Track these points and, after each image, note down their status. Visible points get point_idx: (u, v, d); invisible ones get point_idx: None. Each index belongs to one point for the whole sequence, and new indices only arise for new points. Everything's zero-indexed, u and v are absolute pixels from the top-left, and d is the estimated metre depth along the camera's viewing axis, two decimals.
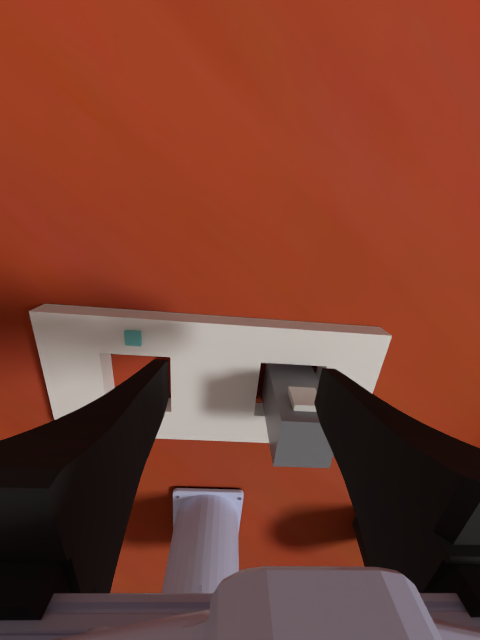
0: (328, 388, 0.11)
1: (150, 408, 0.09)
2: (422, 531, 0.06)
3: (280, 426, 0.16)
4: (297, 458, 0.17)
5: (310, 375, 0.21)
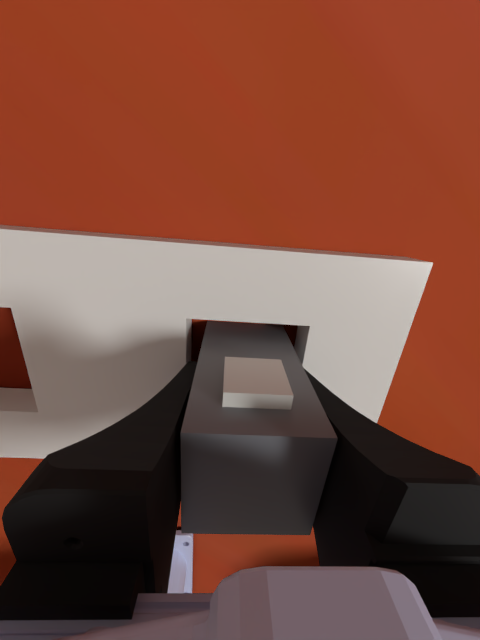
0: None
1: None
2: (357, 530, 0.06)
3: None
4: (235, 517, 0.08)
5: (280, 342, 0.11)
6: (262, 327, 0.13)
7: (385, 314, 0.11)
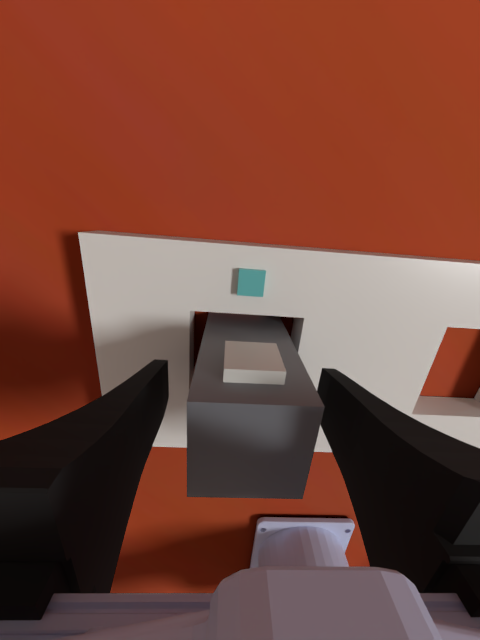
0: (328, 388, 0.11)
1: (150, 408, 0.09)
2: (422, 531, 0.06)
3: (187, 414, 0.07)
4: (235, 481, 0.08)
5: (276, 331, 0.12)
6: (260, 317, 0.14)
7: None
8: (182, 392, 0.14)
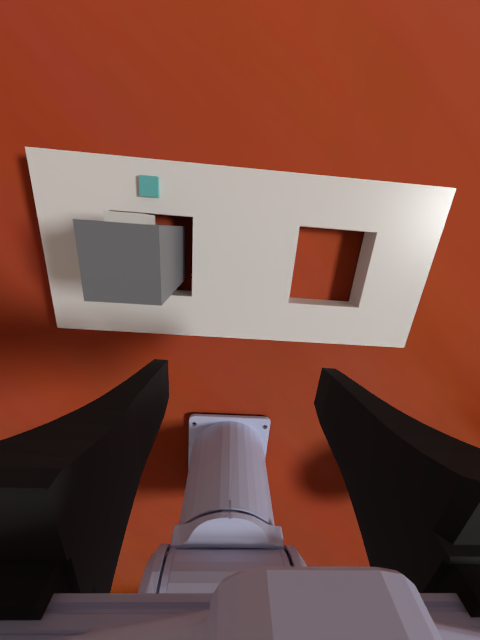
0: (328, 388, 0.11)
1: (150, 408, 0.09)
2: (422, 531, 0.06)
3: (75, 230, 0.12)
4: (113, 288, 0.13)
5: None
6: None
7: (425, 224, 0.18)
8: None
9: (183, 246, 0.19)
